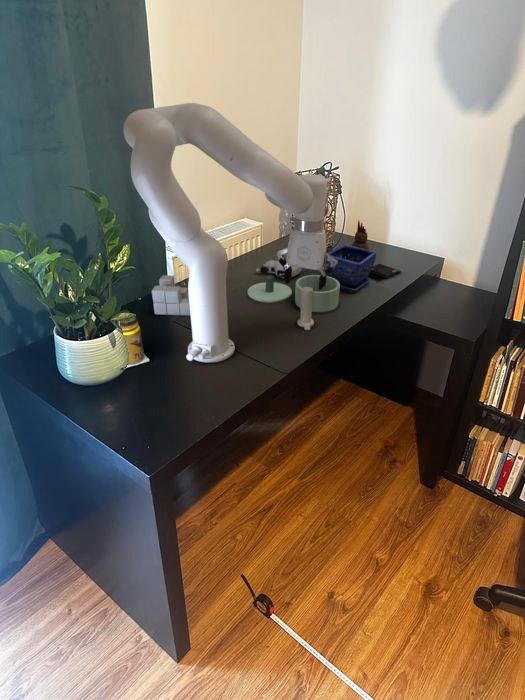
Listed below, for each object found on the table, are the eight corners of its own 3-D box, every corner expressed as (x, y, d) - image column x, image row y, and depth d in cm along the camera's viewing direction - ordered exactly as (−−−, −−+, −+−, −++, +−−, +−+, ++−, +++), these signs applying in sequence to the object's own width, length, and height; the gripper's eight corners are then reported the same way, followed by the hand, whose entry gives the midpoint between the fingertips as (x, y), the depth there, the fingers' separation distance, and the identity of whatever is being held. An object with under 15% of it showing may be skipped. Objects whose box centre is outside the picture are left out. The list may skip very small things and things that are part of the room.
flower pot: (374, 284, 170) (378, 251, 164) (356, 297, 161) (359, 263, 155) (340, 275, 177) (343, 243, 171) (321, 287, 168) (323, 254, 162)
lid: (282, 307, 156) (283, 289, 152) (240, 299, 160) (239, 282, 157) (297, 289, 167) (298, 272, 164) (257, 282, 172) (257, 266, 169)
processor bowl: (331, 316, 150) (333, 295, 146) (289, 309, 155) (289, 288, 151) (343, 298, 161) (344, 278, 157) (302, 292, 165) (303, 272, 162)
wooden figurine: (347, 258, 191) (351, 219, 184) (361, 256, 193) (365, 218, 185) (355, 264, 186) (359, 225, 178) (369, 262, 187) (374, 223, 180)
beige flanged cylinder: (315, 332, 142) (318, 295, 136) (299, 332, 142) (300, 296, 136) (311, 317, 150) (313, 282, 144) (295, 317, 149) (296, 282, 143)
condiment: (149, 360, 129) (144, 320, 123) (118, 371, 125) (110, 329, 119) (139, 348, 135) (133, 309, 128) (109, 358, 131) (101, 317, 124)
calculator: (400, 273, 179) (401, 265, 177) (380, 281, 172) (381, 273, 170) (379, 265, 185) (380, 258, 183) (359, 274, 178) (360, 266, 177)
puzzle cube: (193, 315, 151) (190, 292, 147) (154, 314, 152) (151, 290, 148) (200, 298, 161) (199, 276, 157) (164, 297, 162) (162, 275, 158)
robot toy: (254, 278, 177) (291, 284, 170) (253, 266, 175) (290, 271, 168) (271, 267, 186) (307, 272, 179) (270, 255, 184) (307, 260, 177)
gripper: (273, 224, 129) (270, 284, 138) (337, 233, 124) (330, 295, 133) (283, 216, 135) (280, 275, 144) (344, 225, 130) (338, 285, 139)
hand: (304, 285), depth 138 cm, fingers open, 9 cm apart
